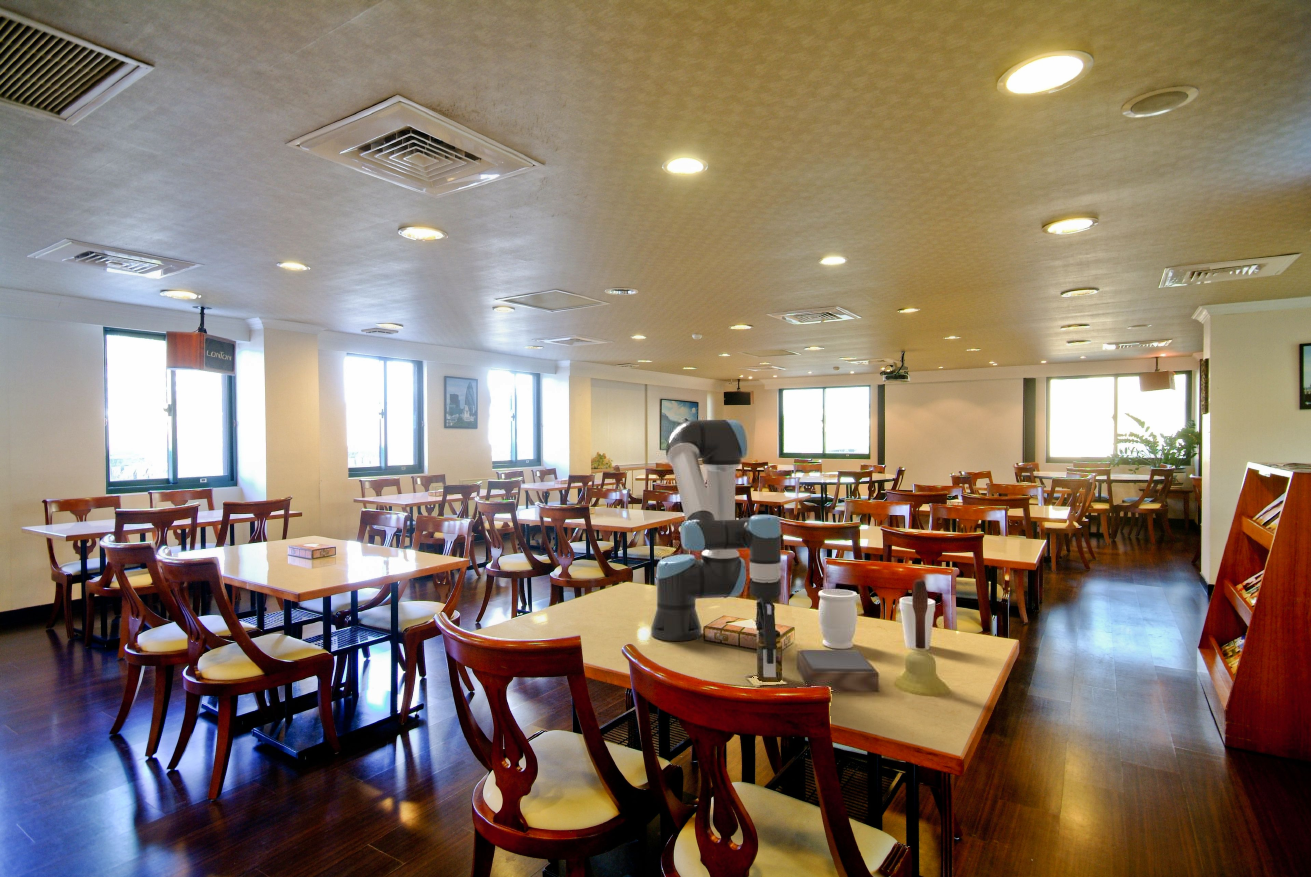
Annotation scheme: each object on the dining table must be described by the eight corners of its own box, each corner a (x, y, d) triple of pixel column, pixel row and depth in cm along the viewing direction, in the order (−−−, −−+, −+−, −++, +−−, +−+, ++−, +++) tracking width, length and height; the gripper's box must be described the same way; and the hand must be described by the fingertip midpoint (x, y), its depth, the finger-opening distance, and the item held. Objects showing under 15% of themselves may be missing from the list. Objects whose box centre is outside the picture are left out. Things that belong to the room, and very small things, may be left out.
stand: (808, 691, 156) (808, 669, 156) (796, 668, 172) (796, 648, 172) (878, 691, 156) (878, 670, 156) (860, 668, 172) (860, 648, 172)
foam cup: (925, 653, 183) (924, 606, 183) (893, 646, 190) (893, 600, 190) (941, 646, 189) (941, 600, 189) (910, 639, 196) (910, 595, 196)
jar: (853, 640, 196) (853, 588, 196) (860, 651, 186) (860, 596, 186) (816, 639, 197) (815, 588, 197) (821, 650, 187) (821, 596, 187)
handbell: (950, 698, 151) (949, 587, 151) (892, 692, 155) (891, 583, 156) (947, 680, 163) (946, 577, 163) (893, 674, 167) (892, 573, 167)
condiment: (788, 684, 161) (788, 634, 161) (755, 687, 159) (754, 636, 159) (776, 674, 168) (776, 626, 168) (744, 677, 166) (743, 628, 166)
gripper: (789, 590, 151) (789, 685, 151) (773, 569, 176) (774, 650, 176) (755, 590, 151) (756, 685, 151) (744, 569, 176) (745, 650, 176)
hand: (765, 666), depth 163 cm, fingers open, 13 cm apart
